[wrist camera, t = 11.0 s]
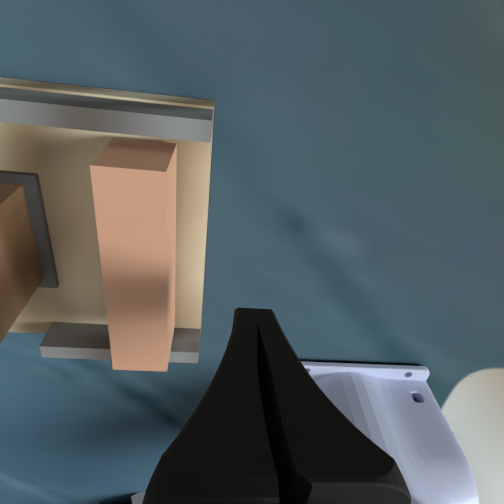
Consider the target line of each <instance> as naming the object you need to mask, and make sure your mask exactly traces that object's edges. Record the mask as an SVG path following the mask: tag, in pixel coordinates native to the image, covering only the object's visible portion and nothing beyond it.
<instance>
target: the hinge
mask: <svg viewBox="0 0 504 504" xmlns="http://www.w3.org/2000/svg"><path fill="white" fill-rule="evenodd" d="M144 495H145V492H139V493H137V494H135V495H133V496H131V499H132V502H130V503H129V504H142V502H143V499H144ZM97 504H100V503H97Z"/></svg>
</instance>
